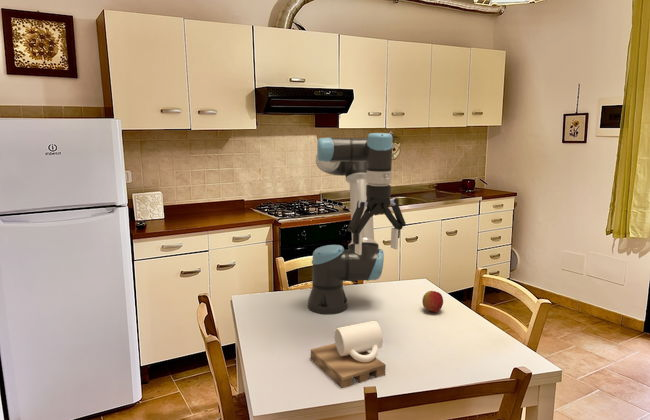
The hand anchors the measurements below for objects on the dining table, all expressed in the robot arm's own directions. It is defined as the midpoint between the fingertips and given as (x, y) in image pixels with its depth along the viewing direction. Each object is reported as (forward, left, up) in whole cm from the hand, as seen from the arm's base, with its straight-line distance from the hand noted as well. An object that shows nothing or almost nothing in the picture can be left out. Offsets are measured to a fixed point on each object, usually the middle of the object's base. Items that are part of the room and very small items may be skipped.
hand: (376, 251), depth 149 cm
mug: (+13, -7, -23) cm, 27 cm away
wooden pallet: (+11, -18, -29) cm, 36 cm away
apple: (-8, +32, -30) cm, 45 cm away
